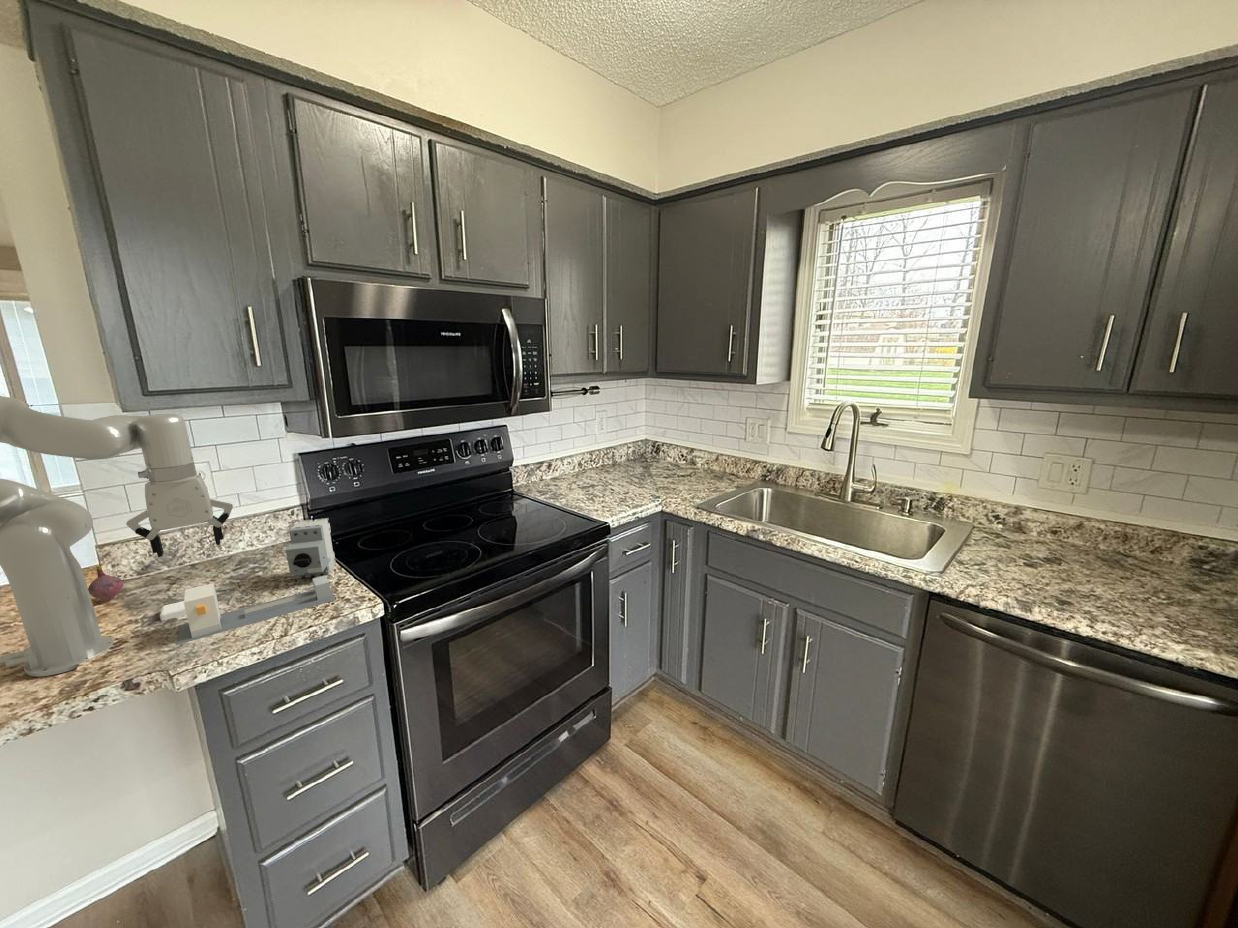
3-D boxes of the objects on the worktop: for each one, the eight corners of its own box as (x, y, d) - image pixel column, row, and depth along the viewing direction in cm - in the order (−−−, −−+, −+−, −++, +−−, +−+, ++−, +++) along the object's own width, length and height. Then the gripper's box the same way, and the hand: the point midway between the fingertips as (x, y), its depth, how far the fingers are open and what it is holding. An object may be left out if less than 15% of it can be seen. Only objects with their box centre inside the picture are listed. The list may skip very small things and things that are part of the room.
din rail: (245, 618, 115) (244, 613, 115) (245, 614, 117) (244, 609, 117) (319, 597, 124) (318, 593, 124) (317, 594, 126) (317, 590, 126)
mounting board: (177, 648, 105) (176, 644, 105) (180, 629, 113) (179, 625, 113) (336, 603, 123) (335, 599, 123) (329, 588, 131) (328, 585, 131)
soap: (211, 604, 124) (209, 593, 124) (211, 613, 120) (208, 602, 119) (163, 616, 119) (161, 605, 118) (161, 626, 115) (158, 614, 114)
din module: (191, 639, 107) (183, 604, 105) (193, 623, 113) (185, 589, 111) (221, 631, 110) (213, 596, 108) (220, 616, 116) (213, 583, 114)
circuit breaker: (290, 591, 130) (280, 538, 126) (307, 569, 143) (299, 520, 140) (322, 587, 132) (313, 535, 128) (336, 566, 145) (328, 517, 142)
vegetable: (89, 602, 126) (79, 566, 124) (123, 592, 131) (113, 557, 128) (95, 609, 122) (84, 572, 120) (129, 598, 127) (119, 563, 125)
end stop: (317, 600, 123) (315, 585, 122) (314, 593, 127) (312, 578, 126) (331, 596, 125) (329, 582, 124) (328, 589, 129) (325, 575, 128)
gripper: (112, 484, 96) (133, 565, 100) (224, 469, 106) (240, 543, 110) (118, 477, 101) (138, 554, 105) (224, 463, 112) (239, 534, 116)
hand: (190, 548), depth 108 cm, fingers open, 9 cm apart
